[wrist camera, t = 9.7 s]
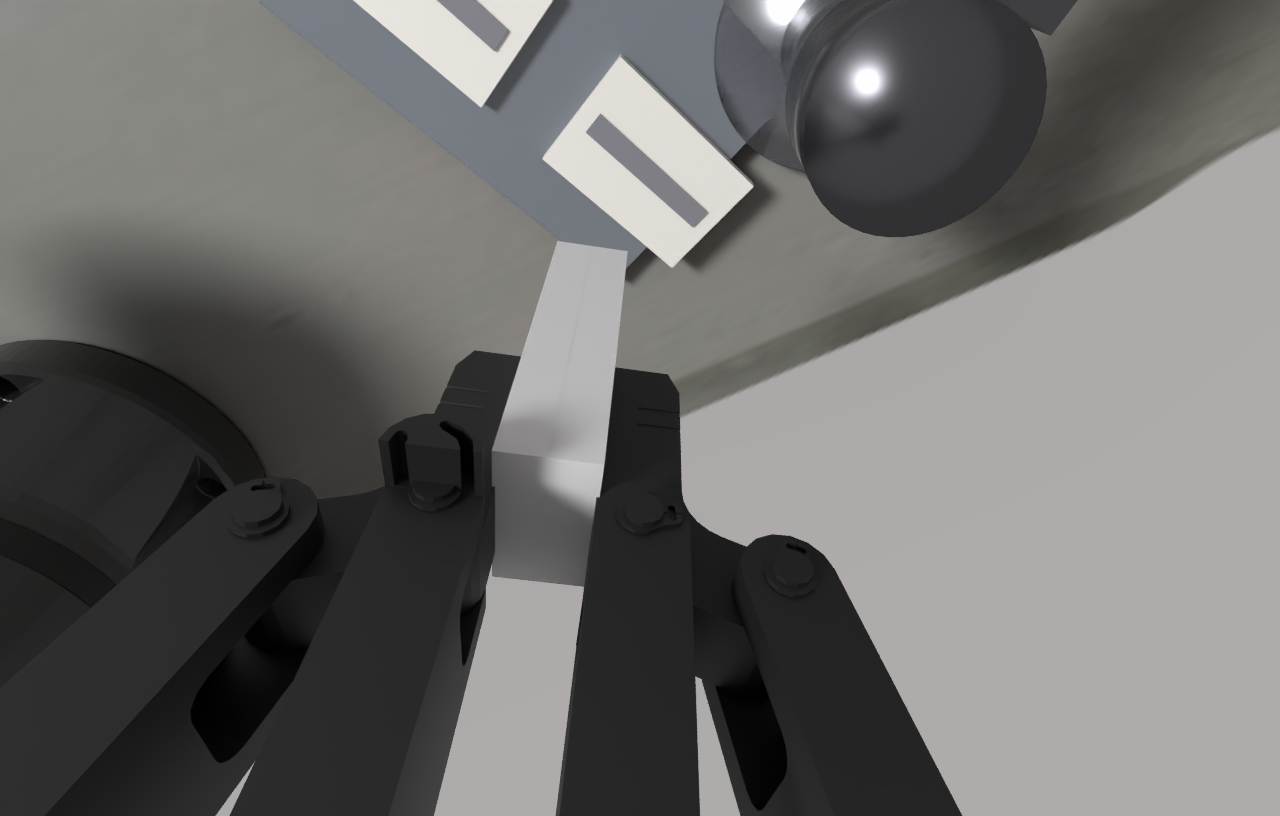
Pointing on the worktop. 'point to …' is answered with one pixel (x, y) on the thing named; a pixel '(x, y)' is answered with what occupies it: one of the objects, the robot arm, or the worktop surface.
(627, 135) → the label board
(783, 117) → the round pedestal stand
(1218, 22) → the worktop surface
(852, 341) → the worktop surface
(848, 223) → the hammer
